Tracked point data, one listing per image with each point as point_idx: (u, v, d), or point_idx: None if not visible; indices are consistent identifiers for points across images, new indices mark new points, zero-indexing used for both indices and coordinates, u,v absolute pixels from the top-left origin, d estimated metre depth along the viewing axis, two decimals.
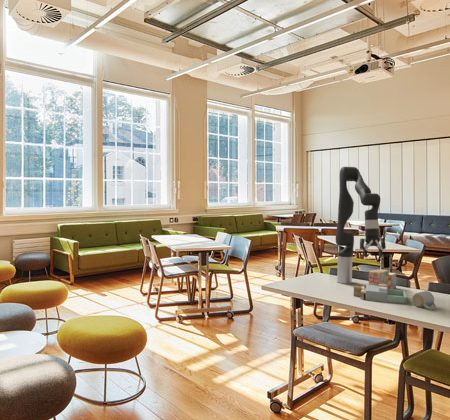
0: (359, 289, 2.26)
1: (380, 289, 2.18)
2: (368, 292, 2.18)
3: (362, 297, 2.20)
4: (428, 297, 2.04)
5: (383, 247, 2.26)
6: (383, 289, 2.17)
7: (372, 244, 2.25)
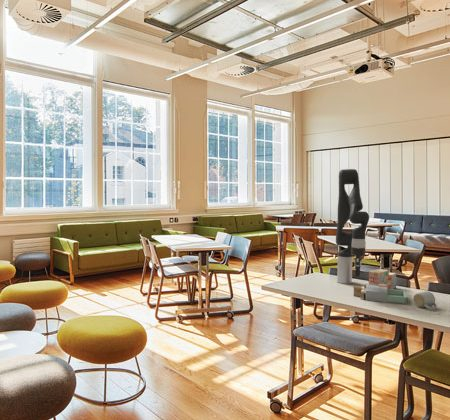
0: (359, 289, 2.26)
1: (380, 289, 2.18)
2: (368, 292, 2.18)
3: (362, 297, 2.20)
4: (429, 297, 2.03)
5: None
6: (383, 289, 2.17)
7: None
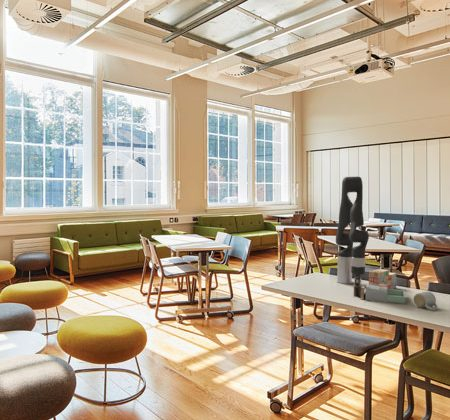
0: None
1: (380, 289, 2.18)
2: (368, 292, 2.18)
3: (362, 297, 2.20)
4: (430, 297, 2.03)
5: None
6: (383, 289, 2.17)
7: None
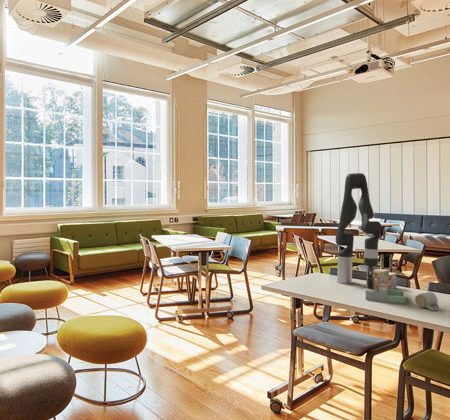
0: None
1: (380, 289, 2.18)
2: (368, 292, 2.18)
3: (375, 289, 2.17)
4: (431, 298, 2.02)
5: None
6: (383, 289, 2.17)
7: None
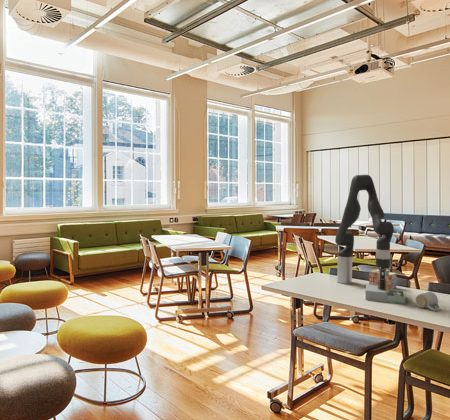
0: None
1: (397, 295, 2.15)
2: (368, 292, 2.18)
3: (387, 290, 2.15)
4: (432, 298, 2.02)
5: (384, 277, 2.26)
6: None
7: None
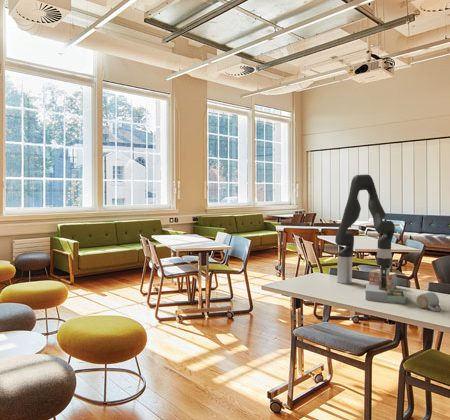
0: None
1: None
2: (368, 292, 2.18)
3: (388, 290, 2.15)
4: (433, 298, 2.01)
5: None
6: None
7: None
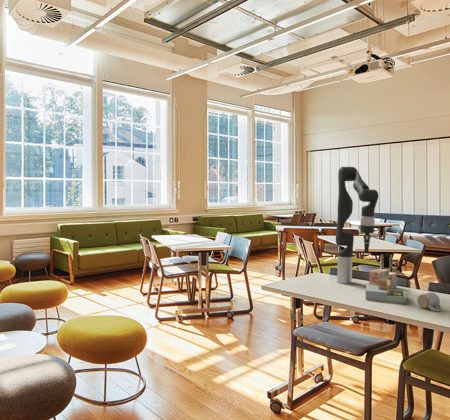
0: (385, 282, 2.21)
1: None
2: (368, 292, 2.18)
3: (388, 290, 2.15)
4: (433, 299, 2.01)
5: None
6: None
7: None
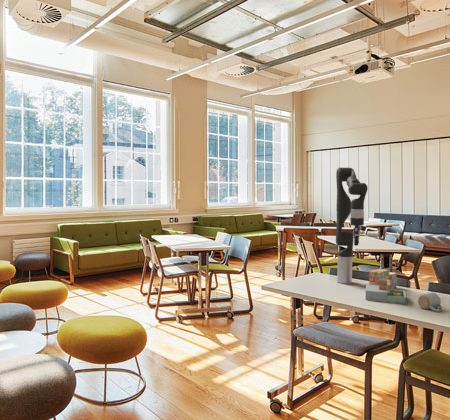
0: (385, 282, 2.21)
1: None
2: (368, 292, 2.18)
3: (388, 290, 2.15)
4: (434, 299, 2.01)
5: None
6: None
7: None
